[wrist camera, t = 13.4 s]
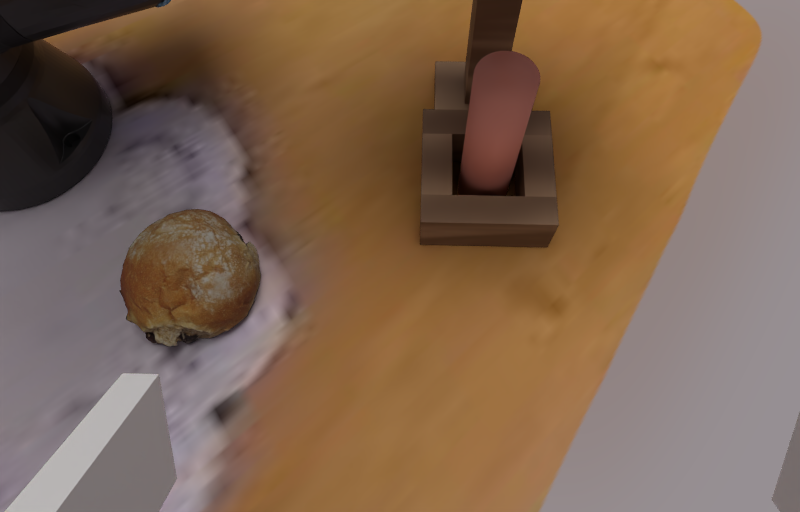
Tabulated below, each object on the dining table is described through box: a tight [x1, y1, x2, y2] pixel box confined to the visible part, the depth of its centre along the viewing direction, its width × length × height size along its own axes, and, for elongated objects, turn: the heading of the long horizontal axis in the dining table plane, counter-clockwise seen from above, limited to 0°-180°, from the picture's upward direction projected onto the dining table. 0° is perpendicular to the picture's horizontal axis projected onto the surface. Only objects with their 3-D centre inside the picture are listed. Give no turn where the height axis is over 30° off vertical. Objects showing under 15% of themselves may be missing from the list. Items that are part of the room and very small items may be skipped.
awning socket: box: [420, 0, 559, 247], centre depth 37 cm, size 17×14×28 cm
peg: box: [458, 51, 540, 196], centre depth 42 cm, size 4×4×14 cm
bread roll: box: [120, 209, 261, 347], centre depth 44 cm, size 10×10×8 cm
